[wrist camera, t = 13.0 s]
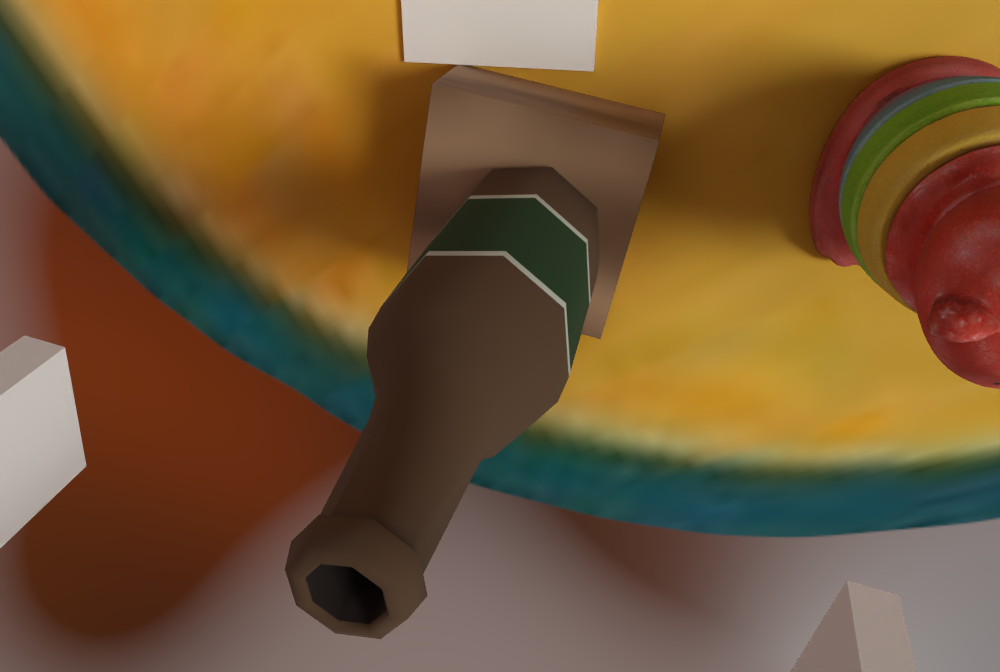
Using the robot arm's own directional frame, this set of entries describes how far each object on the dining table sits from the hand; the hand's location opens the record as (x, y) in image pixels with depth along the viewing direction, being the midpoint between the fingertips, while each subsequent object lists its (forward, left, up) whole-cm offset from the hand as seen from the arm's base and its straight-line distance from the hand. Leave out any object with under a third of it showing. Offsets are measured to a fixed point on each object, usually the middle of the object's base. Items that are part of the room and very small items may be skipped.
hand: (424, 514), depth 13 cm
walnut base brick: (+6, -3, -32) cm, 33 cm away
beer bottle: (+7, -2, -27) cm, 28 cm away
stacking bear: (0, +15, -32) cm, 36 cm away
